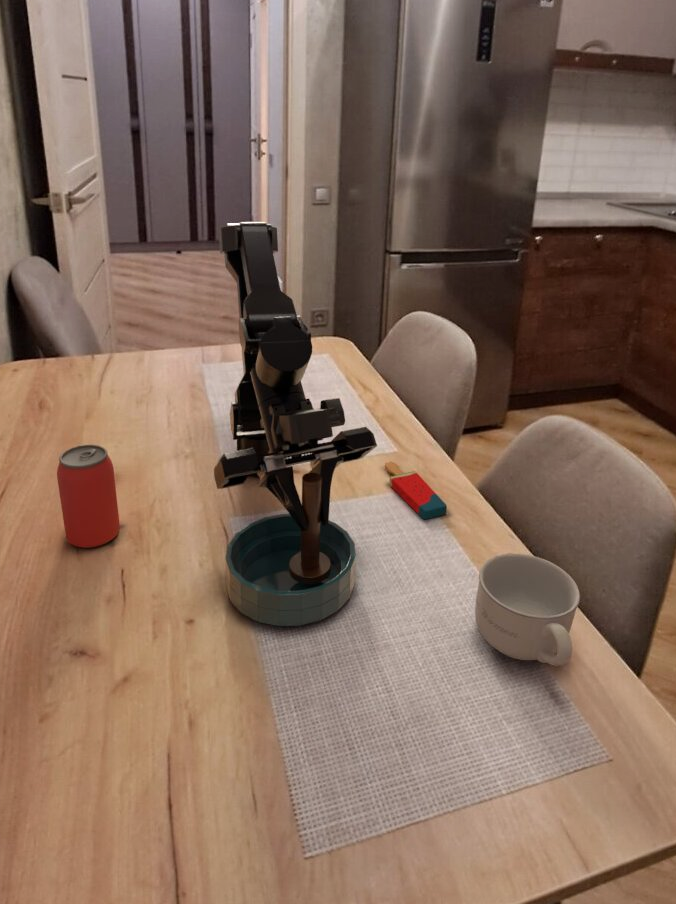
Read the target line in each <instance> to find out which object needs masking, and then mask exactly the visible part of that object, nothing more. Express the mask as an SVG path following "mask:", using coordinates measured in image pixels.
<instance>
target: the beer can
mask: <svg viewBox="0 0 676 904" xmlns="http://www.w3.org/2000/svg"><path fill="white" fill-rule="evenodd" d="M58 461H59V462H58V465H57V470H56V480H57V485H58V486H57V487H58V492H59V499H60V505H61V506H60V507H61V512H62V513H61V514H62V521H63V526H64V533H65V539H66V540H67V541H68V543H69V544H71V545H73V546H75V547H77V548H83V549H84V548H85V549H87V548H95V547H100V546H103V545H105V544H108V543H109V542H110V541H112V540H113V539H115V537H116V536H117V535H118V533H119V531H120V529H121V524H120V515H119V506H118V505H119V504H118V496H117V487H116V478H115V477H116V476H115V469H114V464H113V462H112V459H111V458H110V456H109V455H108V450H107V449H106V448H105V447H103V446H101V445H96V444H83V445H76V446H73V447H70V448H68V449H66V450H65V451H64V452H62V453H61V454H60V456H59V458H58Z"/></svg>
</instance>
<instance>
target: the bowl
mask: <svg viewBox="0 0 676 904" xmlns="http://www.w3.org/2000/svg"><path fill="white" fill-rule="evenodd" d="M300 552H301V529H300V527H299V526H298V525H297V523H296V522H295V521H294V519H293V518H292V517H291V515H290V514H289V513H280V514H275V515H271V516H265V517H262V518H261V519H258V520H255V521H253V522H250V523H249V524H247V525H245V526H244V527H243V528H241V529H240V530H239V531H238V532H236V533H235V534H234V536H233V537H232V538H231V539H230V542H228V544H227V546H226V553H225V556H224V557H225V559H224V560H225V586H226V587H225V588H226V591H227V594H228V597H229V600H230V602H231V604H232V605H233V606H234V607H235V608H236V609H237V610H238V611H239V612H240V614H242V615H244V616H246V617H247V618H250V619H252V620H254V621H256V622H259V623H261V624H267V625H271V626H277V627H294V626H304V625H308V624H312V623H315V622H320V621H321V620H324V619H325V618H327V617H329V616H331V615H332V614H335V613H336V612H338V611H339V610H340V609H341V608H342V607H343V606H344V605H345V603H346V602H347V601H348V600H349V599H350V597H351V595H352V592H353V589H354V586H355V581H356V580H355V579H356V577H355V576H356V558H357V556H356V555H357V553H356V544H355V542H354V540H353V538H352V537H351V536H350V534H349V532H348V531H347V530H346V529H344V528H343V527H341V526H340V525H339V524H338V523H336V522H334V521H331V520H329V522H328V524H327V525H326V526H323V525H322V523H321V520H320V552H321V553H323V554H325V555H326V556H327V557H328V558H329V559H330V561H331V572H330V574H329V576H328V577H327V578H326V579H325V580H323V581H321V582H319V583H315V584H303V583H300V582H297V581H296V580H294V579H293V578H292V577H291V576H290V573H289V562H290V560H291V558H292V557H293V556H294V555H296V554H297V553H300Z"/></svg>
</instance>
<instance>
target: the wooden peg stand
mask: <svg viewBox="0 0 676 904" xmlns="http://www.w3.org/2000/svg"><path fill="white" fill-rule="evenodd" d="M321 485H322V477H321V475H319V474H317V473H309V472H306V473H304V474H303V475H302V477H301V504H302V507H303V510H304V513H305V516H306V521H307V526H308V529H307V530H306V531H302V530H301V552H300V553H297V554H296V555H294V556H293V557H292V558H291V560H290V562H289V573H290V576H291V577H292V578H293V579H294V580H296V581H297V582H300V583H303V584H315V583H319V582H321V581H323V580H325V579H326V578H327V577H328V576H329V574H330V572H331V561H330V559H329V558H328V557H327V556H326V555H325V554H323V553H321V552H320V520H321Z"/></svg>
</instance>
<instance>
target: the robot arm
mask: <svg viewBox="0 0 676 904" xmlns="http://www.w3.org/2000/svg"><path fill="white" fill-rule="evenodd" d="M218 242H219V253H220V255H224V266H225V269H226V270H227V271H228V273H229V274H230V275H231V277H232V278H233V279H234V281H235V283H236V290H237V291H236V292H237V304H238V305H237V307H238V316H239V317H238V336H239V338H238V339H239V344H240V347H241V357H242V359H241V360H242V371H243V376H242V377H241V379H240V382H239V383H238V385H237V387H236V389H235V390H234V391H235V392H234V401H231V404H230V409H229V410H230V411H229V423H230V425H229V426H230V430H231V436H232V440H233V441H236V451H235V450H234V451H230V452H225V453H223V454H222V456H221V457H220V459H219V460H218V462H217V464H216V465H215V466H214V469H213V476H214V481H215V485H216V489H218V490H222V489H227V488H232V487H238V486H241V485H243V484H244V483H245V482H246V481H247V479H248V478H249V476H256V477H259V481H258V482H257V487H258V488H259V489H261V488H266V489H267V490H268V491H269V492H270V493H271V494H272V495H273V496H274V497H275V498H276V499H277V500H278V502H279V503H280V504H281V505H282V506H283V507H284V509H285V510H286V511H287V513H288V514H290V515H291V517H292V518H293V519H294V521H295V522H296V523H297V525H298V526H299V527H300V529H301V530H302V531H306V530H307V529H308V526H307V521H306V516H305V513H304V510H303V507H302V500H301V499H300V496H299V493H298V489H297V487H296V484H295V477H294V467H293V466H294V465H301V464H306V463H310V466H311V470H309V472H308V473H317V474H319V475H321V477H322V485H321V523H322V525H323V526H326V525H327V524H328V522H329V521H330V505H331V504H330V503H331V489H332V488H331V487H332V482H333V476H334V473H335V470H336V468H337V467H339V466H340V465H341V464H345V463H350V462H353V461H358V460H360V459H363V458H364V457H366V456H367V455H368V454H369V453H371V452H372V451H373V450H374V449H376V448H377V447H378V444H377V441H376V438H375V434H374V432H373V431H371V430H370V428H368V427H367V426H362V427H361V426H360V427H357V428H356V427H355V428H351V429H347V430H346V429H345V430H340V431H339V433H337V434H336V436H334V433H333V428H335V427H340V426H344V425H345V423H346V416H345V410H344V407H343V404H342V402H341V398H340V397H334V398H328V399H322V400H321V401H320V404H319V405H320V407H319V408H314V407H313V404H312V401H311V398H306V395H305V390H304V388H303V383H302V380H303V378H304V375H305V373H306V371H307V368H308V365H309V363H310V360H311V357H312V354H313V344H312V333H311V331H310V330H309V329H308V326H307V325H306V324H305V323H304V322H303V320H302V317H301V315H298V314H297V311H296V307H295V304H294V301H293V299H292V297H290V296H289V295H288V294H286V293H284V292H283V291H282V289H281V286H280V280H279V277H278V276H279V275H278V271H277V266H276V261H275V256H274V254H276V253H278V252H279V243H278V228H277V227H276V226H272V225H271V223H267V222H266V221H240V222H238V223H237V222H236V223H235V222H234V223H233V222H230V223H228V222H227V223H226V226H224V227H220V228H219V231H218ZM328 438H329V439H330V438H333V439H331V440H330V441H326V442H321V443H319V441H323V440H324V439H328Z"/></svg>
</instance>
